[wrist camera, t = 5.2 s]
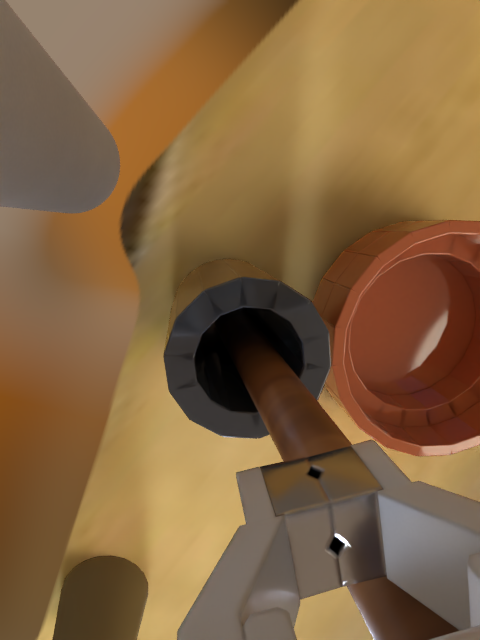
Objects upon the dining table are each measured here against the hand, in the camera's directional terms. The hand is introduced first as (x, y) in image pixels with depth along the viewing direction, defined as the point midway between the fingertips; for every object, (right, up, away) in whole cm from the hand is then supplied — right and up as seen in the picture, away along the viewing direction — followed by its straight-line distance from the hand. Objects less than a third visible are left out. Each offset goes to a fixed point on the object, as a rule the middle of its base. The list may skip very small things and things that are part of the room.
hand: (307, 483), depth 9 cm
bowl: (+9, +3, +19) cm, 22 cm away
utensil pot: (-2, +4, +18) cm, 18 cm away
